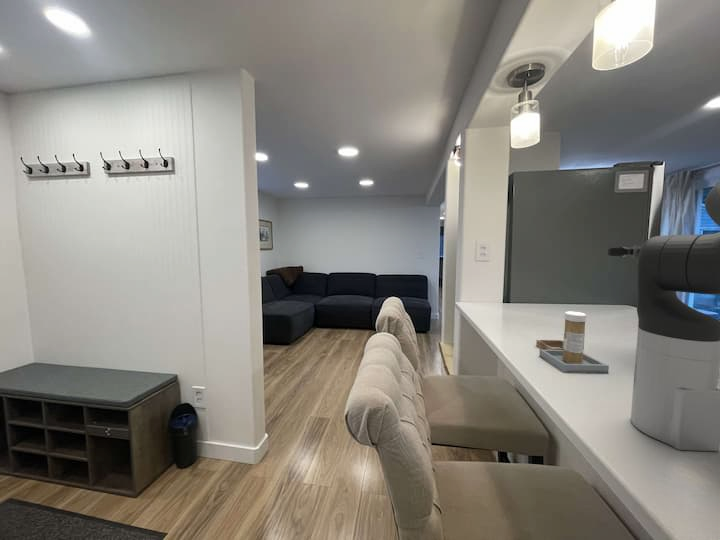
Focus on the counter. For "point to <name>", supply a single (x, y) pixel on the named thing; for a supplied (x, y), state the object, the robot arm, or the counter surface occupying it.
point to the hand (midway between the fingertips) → (622, 252)
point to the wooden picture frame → (549, 344)
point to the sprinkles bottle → (574, 337)
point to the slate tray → (587, 367)
